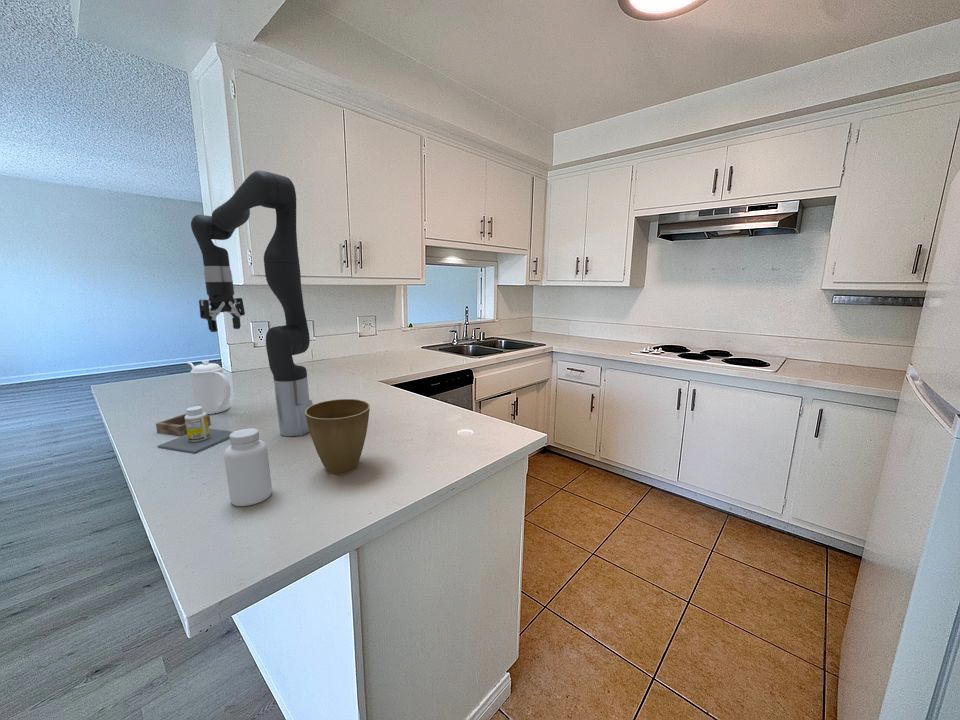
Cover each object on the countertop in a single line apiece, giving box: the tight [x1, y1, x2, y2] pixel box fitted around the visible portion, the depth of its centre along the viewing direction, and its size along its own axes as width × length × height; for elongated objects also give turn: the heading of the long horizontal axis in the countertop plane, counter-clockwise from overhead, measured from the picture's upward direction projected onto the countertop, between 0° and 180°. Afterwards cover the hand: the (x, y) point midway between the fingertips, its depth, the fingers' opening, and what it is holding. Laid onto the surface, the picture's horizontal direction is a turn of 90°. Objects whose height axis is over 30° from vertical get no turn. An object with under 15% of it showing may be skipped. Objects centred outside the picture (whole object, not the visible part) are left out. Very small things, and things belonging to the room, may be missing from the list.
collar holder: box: [155, 412, 212, 437], centre depth 123 cm, size 10×10×3 cm
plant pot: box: [305, 398, 371, 476], centre depth 96 cm, size 15×15×16 cm
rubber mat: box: [157, 428, 234, 455], centre depth 114 cm, size 14×14×1 cm
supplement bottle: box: [185, 406, 210, 442], centre depth 113 cm, size 5×5×10 cm
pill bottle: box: [223, 427, 273, 507], centre depth 83 cm, size 8×8×15 cm
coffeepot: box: [185, 359, 231, 416], centre depth 139 cm, size 11×25×19 cm, turn 62°
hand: (225, 330), depth 129 cm, fingers open, 8 cm apart
